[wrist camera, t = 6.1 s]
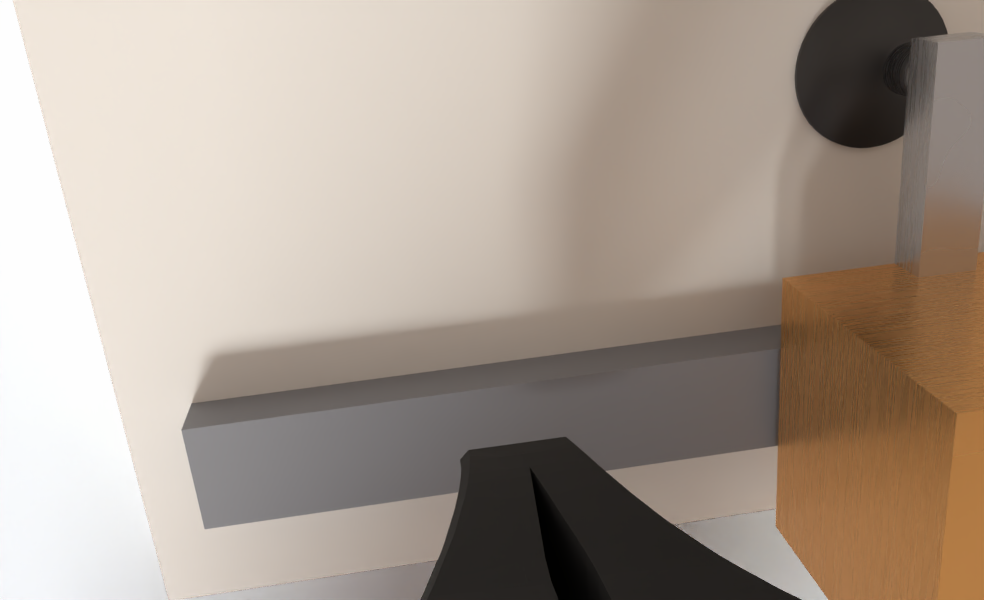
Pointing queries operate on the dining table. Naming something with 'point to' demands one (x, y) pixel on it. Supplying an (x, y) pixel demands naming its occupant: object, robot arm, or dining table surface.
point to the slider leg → (897, 366)
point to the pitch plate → (455, 246)
